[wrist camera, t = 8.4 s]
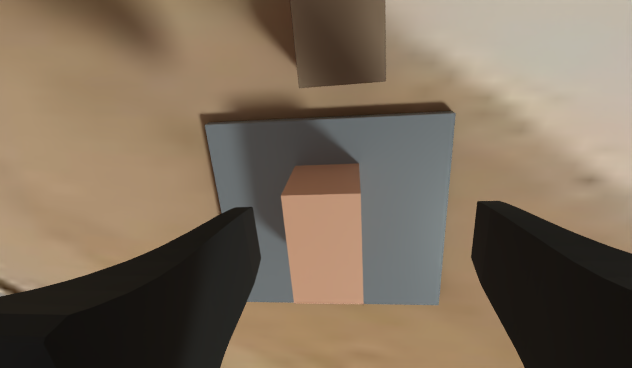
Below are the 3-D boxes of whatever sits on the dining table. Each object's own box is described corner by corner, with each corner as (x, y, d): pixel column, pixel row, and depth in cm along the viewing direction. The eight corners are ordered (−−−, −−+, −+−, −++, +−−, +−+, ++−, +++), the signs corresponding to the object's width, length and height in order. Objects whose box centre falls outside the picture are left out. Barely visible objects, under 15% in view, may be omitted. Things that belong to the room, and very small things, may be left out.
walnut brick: (376, -70, 15) (384, -108, 11) (378, 73, 17) (385, 81, 13) (298, -59, 15) (280, -92, 12) (310, 79, 17) (298, 88, 14)
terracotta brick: (359, 163, 18) (360, 193, 14) (361, 257, 20) (363, 303, 17) (294, 165, 19) (280, 195, 15) (304, 257, 21) (294, 303, 17)
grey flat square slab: (452, 111, 17) (455, 113, 17) (436, 298, 22) (438, 305, 21) (208, 122, 19) (204, 124, 18) (241, 295, 23) (238, 301, 23)
